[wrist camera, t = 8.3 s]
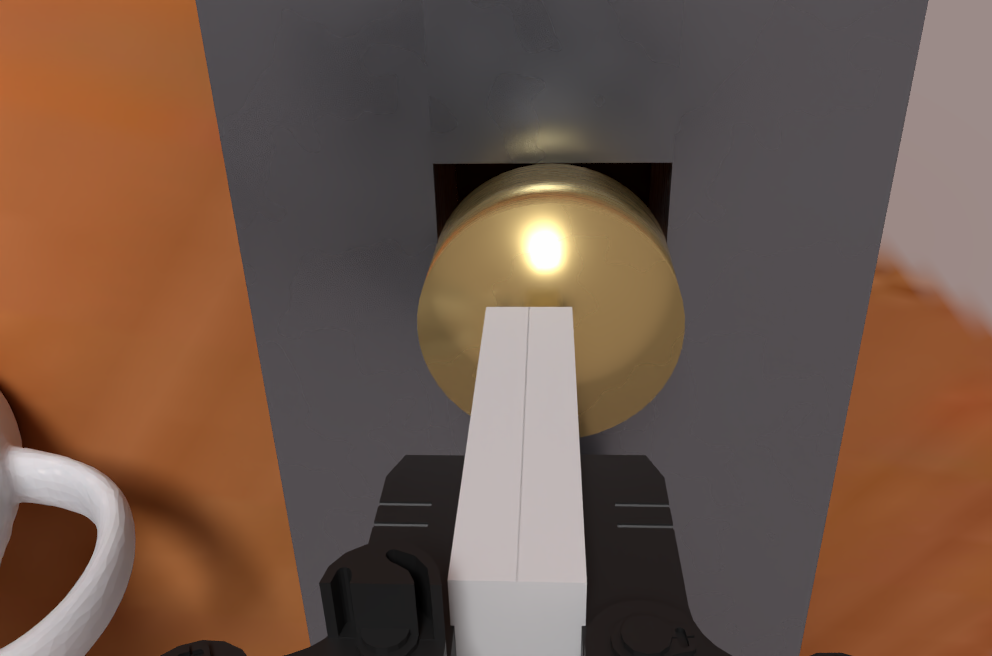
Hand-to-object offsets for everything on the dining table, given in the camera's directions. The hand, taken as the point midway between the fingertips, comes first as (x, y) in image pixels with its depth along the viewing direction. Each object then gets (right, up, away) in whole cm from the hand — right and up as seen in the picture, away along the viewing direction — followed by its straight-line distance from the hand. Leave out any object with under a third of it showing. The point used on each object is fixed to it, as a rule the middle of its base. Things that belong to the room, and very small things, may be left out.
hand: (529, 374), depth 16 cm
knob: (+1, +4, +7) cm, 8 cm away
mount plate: (+1, -2, +11) cm, 11 cm away
